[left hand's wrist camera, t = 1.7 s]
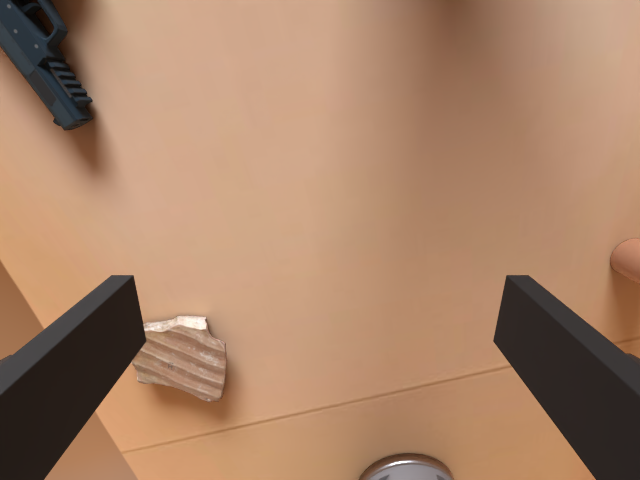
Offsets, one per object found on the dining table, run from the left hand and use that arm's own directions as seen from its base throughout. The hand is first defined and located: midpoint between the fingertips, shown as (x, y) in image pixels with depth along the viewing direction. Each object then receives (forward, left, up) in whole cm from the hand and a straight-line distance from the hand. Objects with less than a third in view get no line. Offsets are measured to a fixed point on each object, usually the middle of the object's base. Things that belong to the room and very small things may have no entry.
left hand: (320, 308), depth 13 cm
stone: (-24, +18, -28) cm, 41 cm away
